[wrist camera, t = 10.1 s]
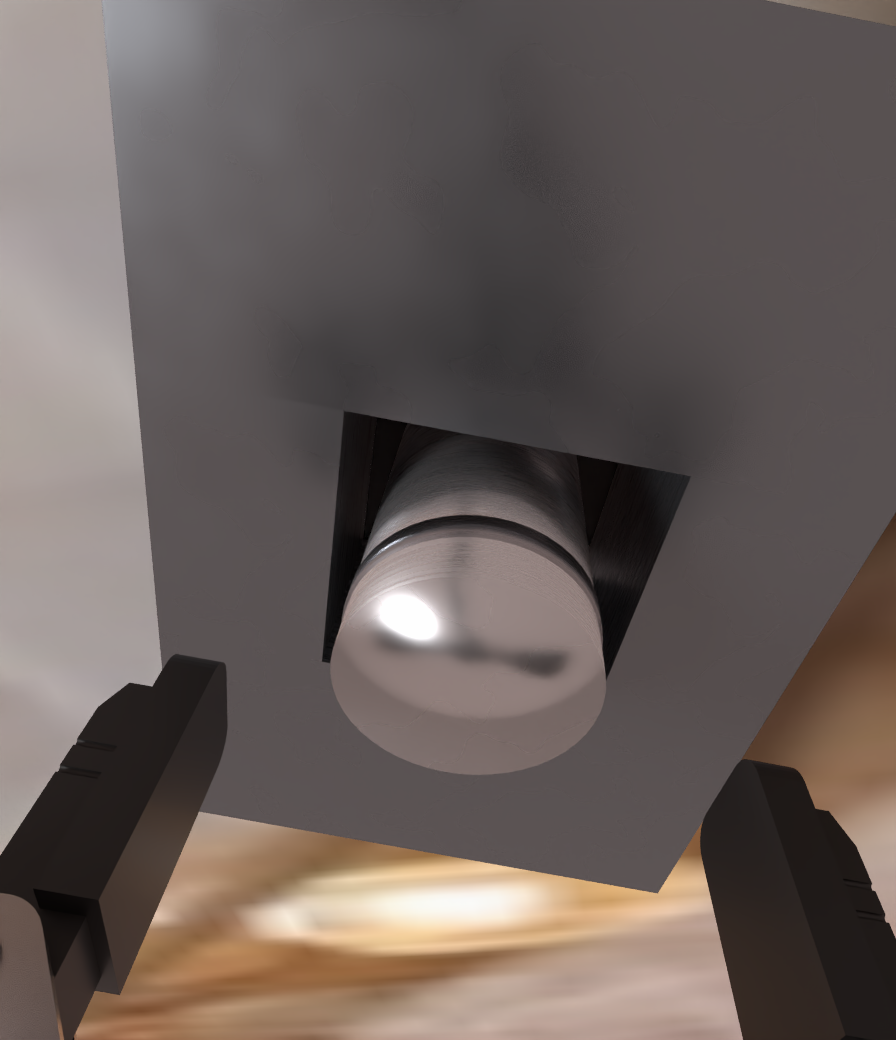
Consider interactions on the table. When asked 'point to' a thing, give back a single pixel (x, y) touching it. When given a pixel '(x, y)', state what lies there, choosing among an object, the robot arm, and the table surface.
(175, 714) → the robot arm
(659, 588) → the grey block with hole
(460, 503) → the piston
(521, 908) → the table surface
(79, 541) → the table surface
